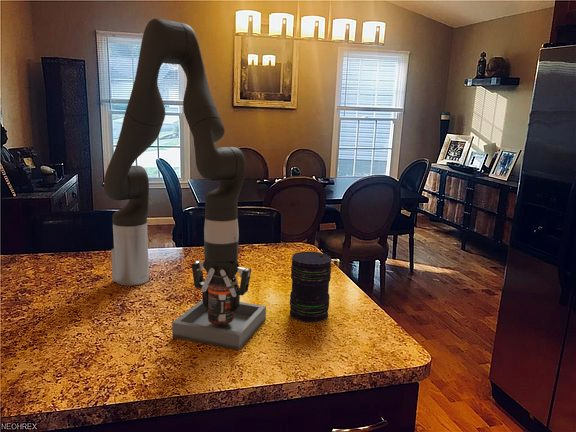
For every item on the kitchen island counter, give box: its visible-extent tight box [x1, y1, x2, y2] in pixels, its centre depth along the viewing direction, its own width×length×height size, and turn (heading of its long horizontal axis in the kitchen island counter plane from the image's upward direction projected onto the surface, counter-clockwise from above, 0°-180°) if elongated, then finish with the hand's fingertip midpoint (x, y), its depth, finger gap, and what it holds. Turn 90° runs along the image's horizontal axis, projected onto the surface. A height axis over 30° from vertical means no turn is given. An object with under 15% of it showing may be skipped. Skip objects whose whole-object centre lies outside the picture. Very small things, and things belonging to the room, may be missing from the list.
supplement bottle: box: [208, 275, 234, 325], centre depth 107 cm, size 6×6×11 cm
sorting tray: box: [171, 298, 267, 351], centre depth 108 cm, size 16×16×4 cm
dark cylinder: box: [289, 251, 332, 324], centre depth 116 cm, size 10×10×15 cm
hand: (220, 307), depth 107 cm, fingers closed on supplement bottle, 6 cm apart
